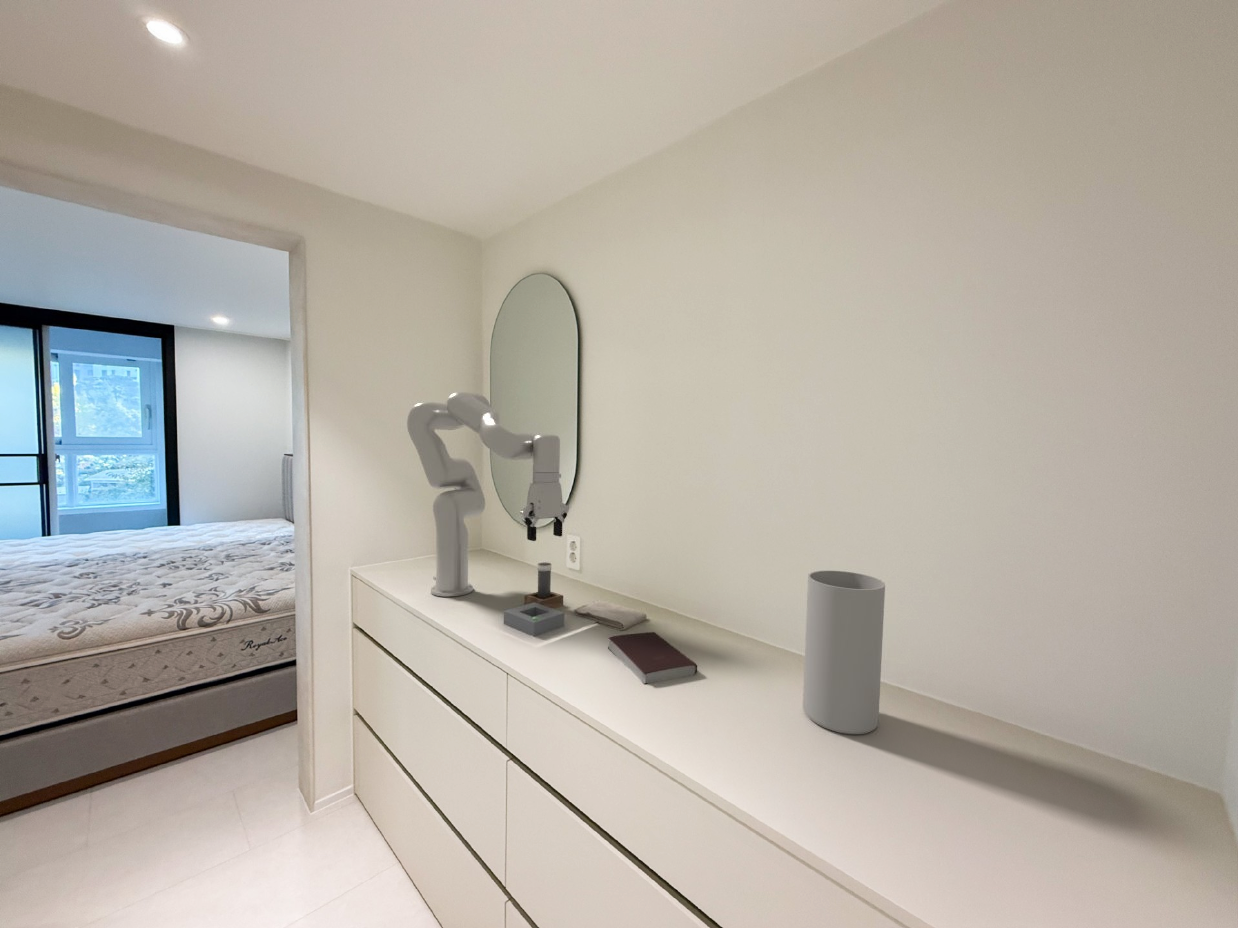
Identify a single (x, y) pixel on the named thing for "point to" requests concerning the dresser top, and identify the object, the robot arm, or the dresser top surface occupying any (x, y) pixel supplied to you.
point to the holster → (545, 600)
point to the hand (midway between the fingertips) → (545, 538)
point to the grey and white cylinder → (544, 580)
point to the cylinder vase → (843, 650)
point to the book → (651, 657)
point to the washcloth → (611, 614)
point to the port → (533, 619)
